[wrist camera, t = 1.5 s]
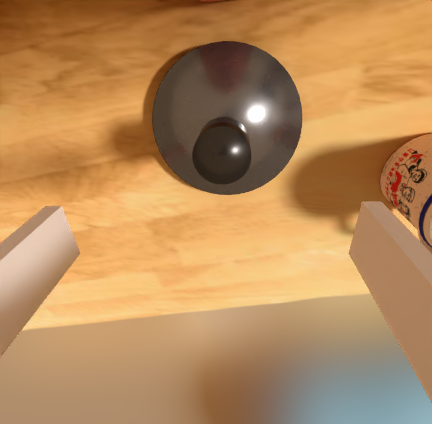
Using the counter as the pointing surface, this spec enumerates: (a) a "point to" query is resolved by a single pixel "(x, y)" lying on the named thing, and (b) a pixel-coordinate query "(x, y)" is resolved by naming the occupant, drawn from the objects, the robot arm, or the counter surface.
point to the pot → (209, 0)
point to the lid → (227, 118)
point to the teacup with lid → (411, 184)
